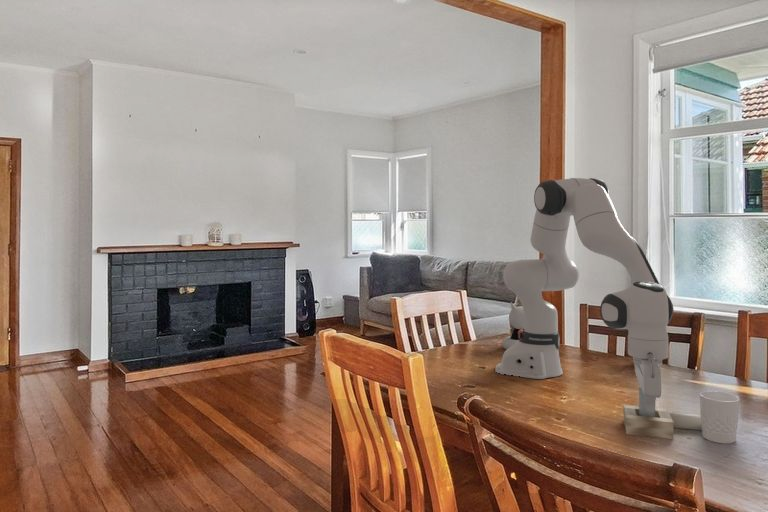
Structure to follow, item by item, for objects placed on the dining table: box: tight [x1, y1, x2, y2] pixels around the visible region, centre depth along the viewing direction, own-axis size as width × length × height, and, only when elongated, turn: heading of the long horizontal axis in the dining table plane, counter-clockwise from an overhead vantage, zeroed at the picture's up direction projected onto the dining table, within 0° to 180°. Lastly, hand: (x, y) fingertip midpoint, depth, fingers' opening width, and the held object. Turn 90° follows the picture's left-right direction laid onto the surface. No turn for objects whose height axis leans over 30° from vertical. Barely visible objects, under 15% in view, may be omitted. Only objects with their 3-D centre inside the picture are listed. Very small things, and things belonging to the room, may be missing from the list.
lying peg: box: [668, 411, 702, 431], centre depth 132 cm, size 10×4×4 cm
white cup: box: [699, 390, 740, 444], centre depth 125 cm, size 8×8×10 cm
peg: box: [638, 387, 656, 417], centre depth 131 cm, size 4×4×10 cm
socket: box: [622, 404, 675, 440], centre depth 131 cm, size 10×10×4 cm
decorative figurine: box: [501, 301, 524, 351], centre depth 218 cm, size 15×15×20 cm
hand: (647, 404), depth 131 cm, fingers open, 8 cm apart
